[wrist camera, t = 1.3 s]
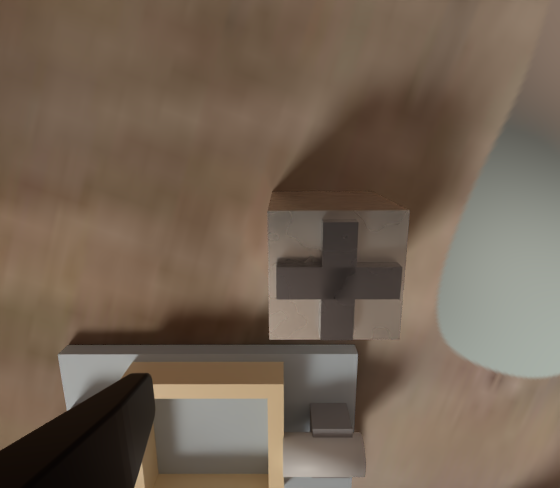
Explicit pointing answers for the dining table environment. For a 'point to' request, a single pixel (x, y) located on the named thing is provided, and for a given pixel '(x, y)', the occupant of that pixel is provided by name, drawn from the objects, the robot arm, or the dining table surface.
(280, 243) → the block
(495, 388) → the dining table surface
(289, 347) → the shaft bench
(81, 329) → the dining table surface
